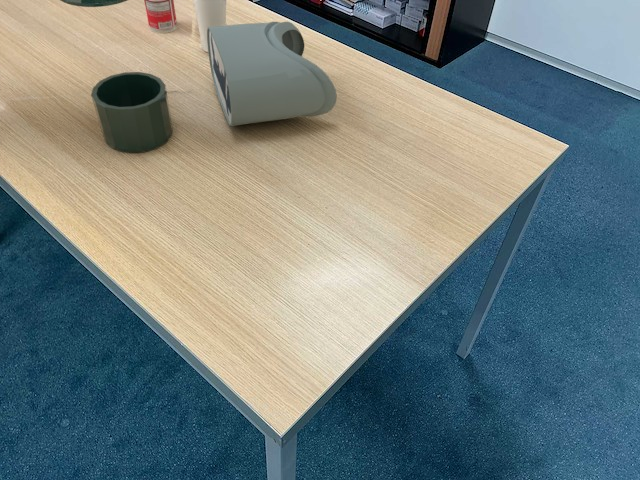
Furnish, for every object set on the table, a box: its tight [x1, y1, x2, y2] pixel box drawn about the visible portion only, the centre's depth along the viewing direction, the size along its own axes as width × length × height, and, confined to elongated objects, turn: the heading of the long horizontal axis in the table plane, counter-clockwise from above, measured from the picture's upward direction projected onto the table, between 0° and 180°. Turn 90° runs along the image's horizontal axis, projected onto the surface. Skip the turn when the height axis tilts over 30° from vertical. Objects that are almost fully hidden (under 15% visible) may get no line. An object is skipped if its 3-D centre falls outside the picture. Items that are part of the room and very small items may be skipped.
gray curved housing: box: [207, 21, 338, 127], centre depth 100 cm, size 22×19×13 cm
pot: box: [91, 71, 174, 154], centre depth 92 cm, size 12×12×8 cm
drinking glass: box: [192, 0, 227, 54], centre depth 113 cm, size 7×7×15 cm
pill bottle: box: [143, 0, 178, 34], centre depth 119 cm, size 6×6×11 cm
